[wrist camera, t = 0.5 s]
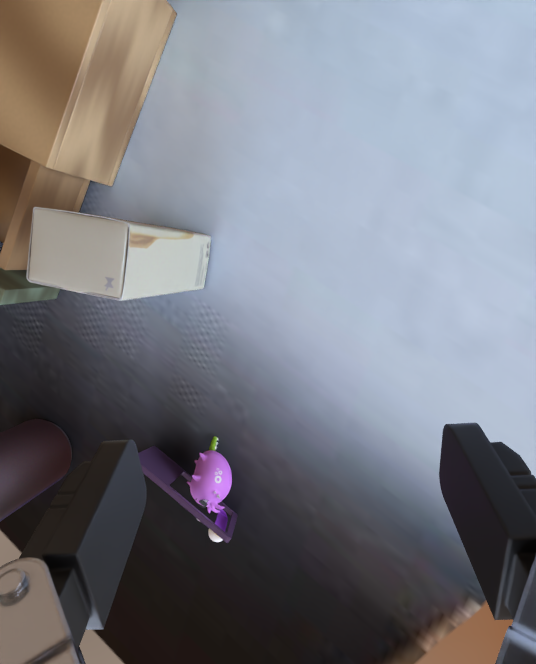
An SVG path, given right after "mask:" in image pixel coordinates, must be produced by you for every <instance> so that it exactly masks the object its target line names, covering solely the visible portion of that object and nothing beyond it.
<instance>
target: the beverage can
mask: <svg viewBox="0 0 536 664" xmlns="http://www.w3.org/2000/svg"><path fill="white" fill-rule="evenodd" d="M71 459H72V448H71V444H70V441H69V439H68V437H67V435H66V434H65V432H64V431H63V430H62V429H61V428H60V427H58V426H57V425H56V424H54V423H52V422H49V421H46V420H42V419H31V420H28V421H25V422H23V423H21V424H19V425H17V426H14V427H12V428H10V429H8V430H6V431H4V432H1V433H0V521H1V520H3V519H4V518H6V517H7V516H9V515H10V514H12V513H13V512H14V511H16V510H17V509H19V508H20V507H22V506H23V505H24V504H26V503H27V502H29V501H30V500H32V499H33V498H35V497H36V496H37V495H39V494H40V493H42V492H43V491H45V490H46V489H47V488H49V487H50V486H52V485H53V484H55V483H56V482H57V481H59V480H60V479H62V478H63V477H64V476H65V475H66V473H67V471H68V470H69V467H70V464H71Z"/></svg>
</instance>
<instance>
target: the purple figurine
mask: <svg viewBox="0 0 536 664" xmlns="http://www.w3.org/2000/svg"><path fill="white" fill-rule="evenodd" d="M217 440H218V438H217V437H213V439H212V441H211V445H210V447H209V451H205V452H204V453H200V454H199V455H200V457H199V459H198V460H195V463H196V468H195V471H194V475H192V476H191V475H190V474H188V473H187V472H186V471H185V470H184V469H182V468H181V467H180V466H179V465H178V464H176V463H175V462H174V461H173V460H171V459H170V458H169V457H168V456H167V455H165V454H164V453H163V452H162V451H161V450H159V449H158V448H157V447H156V446H153V447H150V448H148V449H146V450H144V451H142V452H140V453H138V455H139V459H140V463H141V467H142V471H143V473H144V474H145V475H146V476H148V477H149V478H150V479H151V480H152V481H153V482H155V483H156V484H157V485H158V486H159V487H161V488H162V489H163V490H164V491H165V492H167V493H168V494H169V495H170V496H171V497H173V498H174V499H175V500H176V501H177V502H179V504H180V505H181V506H182V507H184V508H185V509H186V510H187V511H189V512H190V513H192V514H193V515H194V516H195V518H197V520H198V521H200V522H201V523H203V524H205V525H206V526H207V527H208V528H209V537H210V539H211V540H212V541H214V542H220V541H222V540H224V541H225V542H227V543H228V542H229V541H230V540H231V538H232V534H233V531H234V527H235V523H236V519H237V516H238V515H237V514H236V513H235V512H234V511H233V510H232V509H231V508H229V507H228V506H227V505H226V504H224V503H223V502H222V500H223V499H224V498H225V497H226V496H227V494H228V493H229V491H230V488H231V484H232V474H231V469H230V466H229V464H228V462H227V460H226V459H225V458H224V457H223V456H222V455H221V454H220V453H218V452H216V451H215V449H216V448H217V447H216V445H217V444H218V442H216V441H217ZM180 475H182V476H184V477H185V478H186V479H187V480H188V481H190V482H187V483H188V484H189V485H190V491H191V494H192V496H193V498H194V500H195V501H196V502H197V504H198V505H199V506H201V507H203V508H205V507H207V508H208V512H209V513H210V511H211V510H212V511H214V512H215V513H218V515H217V519H216V522H215V523H214V522H212V521H211V520H210V519H209V518H208V517H206V516H205V515H204V514H203V513H202V512H200V511H199V510H198V509H197V508H196V507H194V506H193V505H192V504H191V503H190V502H188V501H187V500H186V499H185V498H184V497H182V496H181V495H180V494H179V493H178V492H176V491H175V490H174V489H173V488H172V487H170V484H171V483H172V482H173V481H174V480H175V479H176V478H177V477H179V476H180ZM214 507H215V508H217V509H219V510H216V509H215V508H214ZM222 509H223V510H222ZM224 510H225V511H226V512H227V513H228V514H229V515H231V520H230V524H229V527H228V530H227V533H225V529H226V525H227V520H228V518H227V515H226V512H225V511H224Z"/></svg>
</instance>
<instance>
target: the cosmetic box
mask: <svg viewBox="0 0 536 664" xmlns="http://www.w3.org/2000/svg"><path fill="white" fill-rule="evenodd" d="M210 244H211V236H209V235H205V234H201V233H196V232H191V231H186V230H181V229H175V228H169V227H163V226H157V225H151V224H145V223H139V222H133V221H127V220H121V219H115V218H109V217H103V216H97V215H91V214H85V213H79V212H72V211H65V210H57V209H49V208H41V207H34V208H33V214H32V224H31V233H30V242H29V253H28V264H27V275H26V278H27V280H28V281H29V282H31V283H36V284H41V285H45V286H50V287H55V288H60V289H64V290H69V291H74V292H79V293H84V294H89V295H94V296H99V297H104V298H109V299H114V300H119V301H123V300H130V299H137V298H144V297H151V296H158V295H165V294H172V293H179V292H186V291H193V290H200V289H203V288H204V284H205V279H206V273H207V267H208V260H209V253H210Z"/></svg>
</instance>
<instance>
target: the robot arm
mask: <svg viewBox="0 0 536 664" xmlns="http://www.w3.org/2000/svg"><path fill="white" fill-rule="evenodd" d="M439 477H440V486H441V490H442V494H443V497H444V500H445V502H446V504H447V507H448V509H449V512H450V514H451V516H452V519H453V521H454V524H455V526H456V528H457V531H458V533H459V535H460V538H461V540H462V543H463V545H464V547H465V550H466V552H467V555H468V557H469V559H470V562H471V564H472V567H473V569H474V571H475V574H476V576H477V578H478V581H479V583H480V586H481V588H482V590H483V593H484V595H485V598H486V600H487V602H488V605H489V607H490V610H491V612H492V614H493V617H494V619H495V620H503V619H504V620H507V619H513V624H512V626H509V627H508V630H507V632H506V635H505V637H504V640H503V643H502V646H501V649H500V652H499V655H498V657H497V660H496V663H495V664H536V478H535V477H534V475H531V471H530V470H529V468H528V467H527V465H526V464H525V462H524V461H523V460H522V458H521V457H520V455H518V454H517V453H516V452H514V451H513V450H512V449H510V448H509V447H507V446H506V445H505V444H503V443H502V442H494V443H490V442H489V440H488V438H487V437H486V435H485V434H484V432H483V431H482V429H481V427H480V426H479V425H478V424H477V423H461V424H446V425H445V426H444V429H443V437H442V448H441V459H440V471H439ZM146 495H147V492H146V483H145V479H144V475H143V471H142V467H141V463H140V459H139V455H138V451H137V447H136V444H135V442H134V441H133V440H115V441H104V442H102V443H101V445H100V447H99V448H98V450H97V452H96V454H95V456H94V458H93V460H92V461H88V462H82V463H81V464H80V465H79V466H78V467H77V468H75V469H74V470H73V471H72V472H71V473H70V474H69V475H68V476H67V477H66V479H65V480H64V482H63V484H62V486H61V487H60V489H59V491H58V495H56V496H55V498H54V499H53V501H52V503H51V504H50V509H47V511H46V513H45V515H44V516H43V518H42V520H41V521H40V523H39V525H38V527H37V528H36V530H35V532H34V533H33V535H32V537H31V538H30V540H29V542H28V544H27V545H26V547H25V549H24V550H23V552H22V554H21V556H20V557H19V559H17V560H14V561H11V562H9V563H6V564H5V565H3V566H1V567H0V664H85V661H84V658H83V655H82V653H81V650H80V647H79V645H80V642H81V640H82V637H83V634H84V632H85V630H87V629H104V626H105V623H106V620H107V617H108V614H109V611H110V608H111V605H112V602H113V600H114V597H115V594H116V591H117V588H118V585H119V582H120V579H121V576H122V573H123V570H124V567H125V565H126V562H127V559H128V556H129V553H130V550H131V547H132V544H133V541H134V538H135V535H136V533H137V530H138V527H139V524H140V521H141V518H142V515H143V512H144V509H145V505H146Z"/></svg>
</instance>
